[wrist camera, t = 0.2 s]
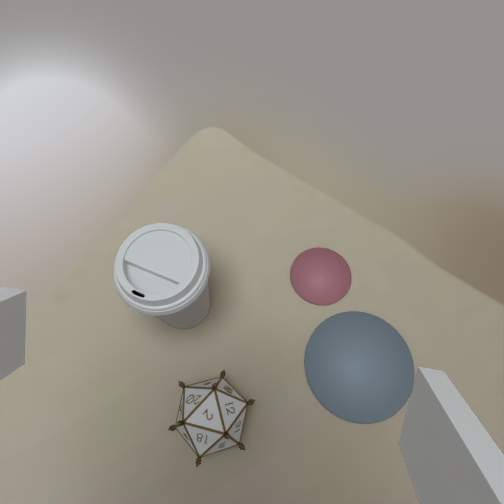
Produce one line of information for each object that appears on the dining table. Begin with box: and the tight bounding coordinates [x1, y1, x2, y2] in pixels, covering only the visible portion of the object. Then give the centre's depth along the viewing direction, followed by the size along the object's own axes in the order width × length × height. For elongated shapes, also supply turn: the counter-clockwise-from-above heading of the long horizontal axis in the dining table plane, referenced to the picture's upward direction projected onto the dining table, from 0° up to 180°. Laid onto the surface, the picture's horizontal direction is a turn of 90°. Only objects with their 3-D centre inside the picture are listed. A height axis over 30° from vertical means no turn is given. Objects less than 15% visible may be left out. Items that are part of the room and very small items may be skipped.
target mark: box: [305, 312, 414, 424], centre depth 47 cm, size 13×13×1 cm
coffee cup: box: [113, 223, 211, 329], centre depth 43 cm, size 10×10×15 cm
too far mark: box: [290, 248, 351, 305], centre depth 51 cm, size 8×8×1 cm
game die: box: [168, 370, 256, 467], centre depth 41 cm, size 9×8×10 cm
